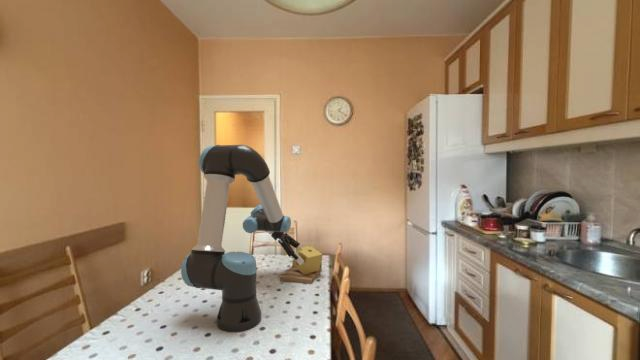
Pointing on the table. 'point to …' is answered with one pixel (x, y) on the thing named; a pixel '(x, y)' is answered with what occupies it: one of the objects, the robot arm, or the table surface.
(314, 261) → the cheese
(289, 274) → the walnut board
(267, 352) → the table surface
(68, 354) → the table surface
